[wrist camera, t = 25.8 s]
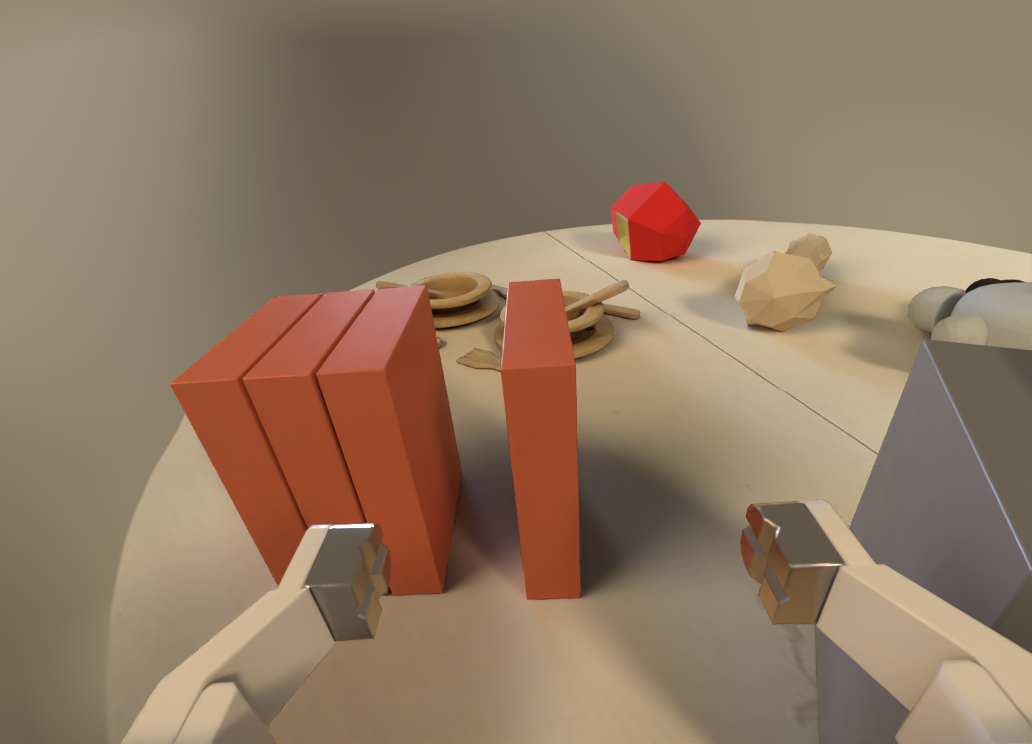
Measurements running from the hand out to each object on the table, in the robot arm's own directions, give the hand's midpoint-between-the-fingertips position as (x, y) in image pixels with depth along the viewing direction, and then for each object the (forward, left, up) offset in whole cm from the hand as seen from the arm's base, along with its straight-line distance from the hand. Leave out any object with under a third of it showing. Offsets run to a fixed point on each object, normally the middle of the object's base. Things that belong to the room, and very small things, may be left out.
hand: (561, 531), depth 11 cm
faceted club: (+47, -31, -16) cm, 59 cm away
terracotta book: (+14, 0, -16) cm, 21 cm away
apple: (+68, -19, -16) cm, 72 cm away
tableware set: (+46, +5, -16) cm, 49 cm away
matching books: (+15, +11, -16) cm, 24 cm away
